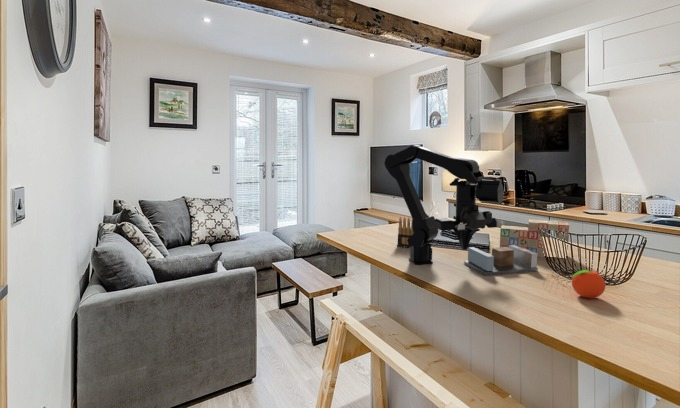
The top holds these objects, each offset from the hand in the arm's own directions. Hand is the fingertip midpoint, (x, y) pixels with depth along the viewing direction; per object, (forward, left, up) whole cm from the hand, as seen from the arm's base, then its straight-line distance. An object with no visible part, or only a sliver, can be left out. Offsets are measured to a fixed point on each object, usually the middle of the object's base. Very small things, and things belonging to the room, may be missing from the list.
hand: (464, 249), depth 110 cm
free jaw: (+6, 0, -6) cm, 8 cm away
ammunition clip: (-5, +31, -7) cm, 32 cm away
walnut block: (+14, 0, -6) cm, 15 cm away
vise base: (+13, 0, -7) cm, 14 cm away
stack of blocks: (+34, +11, -7) cm, 36 cm away
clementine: (+19, -26, -7) cm, 33 cm away
